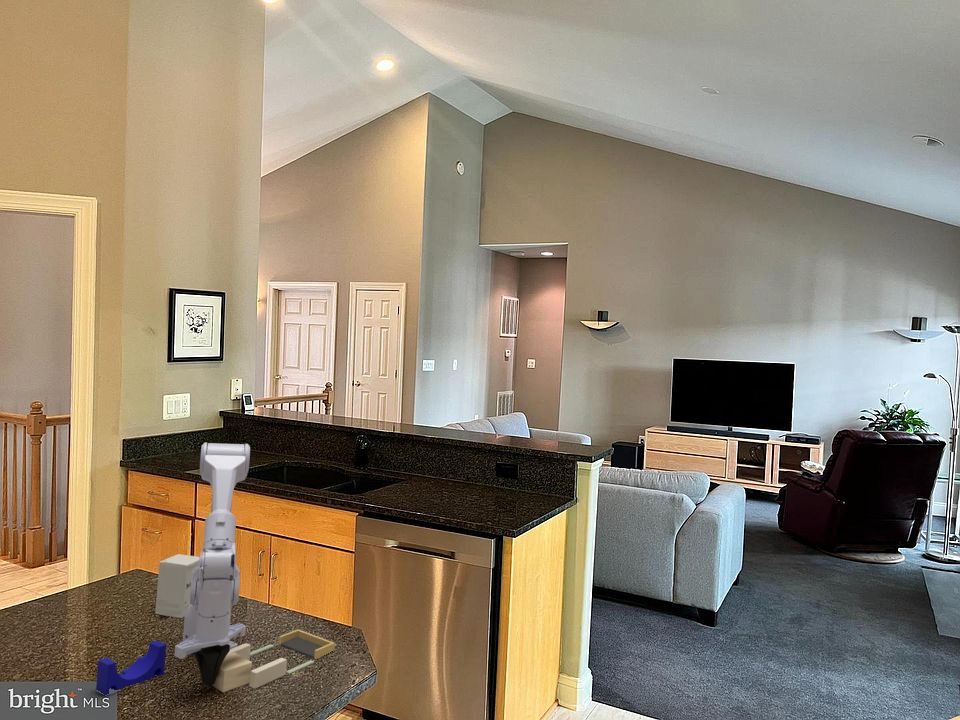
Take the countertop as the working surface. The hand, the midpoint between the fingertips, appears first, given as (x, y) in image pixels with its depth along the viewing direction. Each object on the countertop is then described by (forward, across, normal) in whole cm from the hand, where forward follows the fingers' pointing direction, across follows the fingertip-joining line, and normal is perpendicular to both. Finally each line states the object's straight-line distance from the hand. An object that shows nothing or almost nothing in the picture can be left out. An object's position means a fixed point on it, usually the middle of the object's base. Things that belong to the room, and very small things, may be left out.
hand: (208, 683), depth 136 cm
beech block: (+1, +5, 0) cm, 5 cm away
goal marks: (+1, +18, 0) cm, 18 cm away
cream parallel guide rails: (+1, +10, 0) cm, 10 cm away
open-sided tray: (+1, +26, 0) cm, 26 cm away
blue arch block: (+2, -7, +14) cm, 16 cm away
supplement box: (+2, +20, +37) cm, 42 cm away
